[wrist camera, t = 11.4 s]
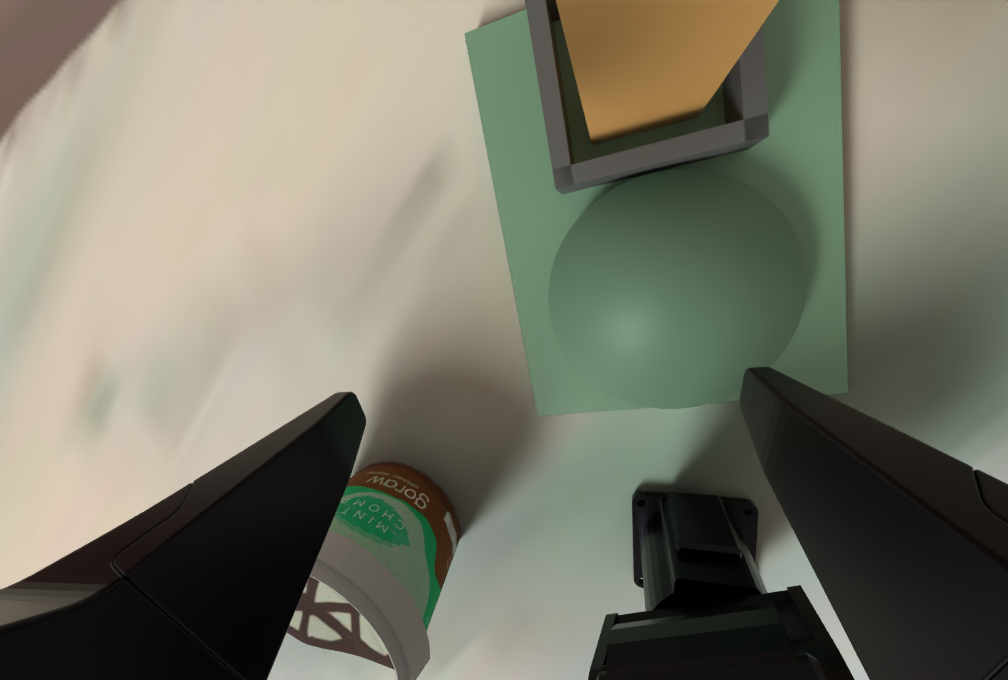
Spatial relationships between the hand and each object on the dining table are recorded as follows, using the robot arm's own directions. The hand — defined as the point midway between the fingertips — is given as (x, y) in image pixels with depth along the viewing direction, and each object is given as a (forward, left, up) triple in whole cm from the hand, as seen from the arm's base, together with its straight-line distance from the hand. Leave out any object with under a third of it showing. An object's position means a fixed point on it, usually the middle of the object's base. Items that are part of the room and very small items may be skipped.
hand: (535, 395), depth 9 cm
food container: (-13, +13, -14) cm, 23 cm away
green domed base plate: (+4, -4, -14) cm, 15 cm away
